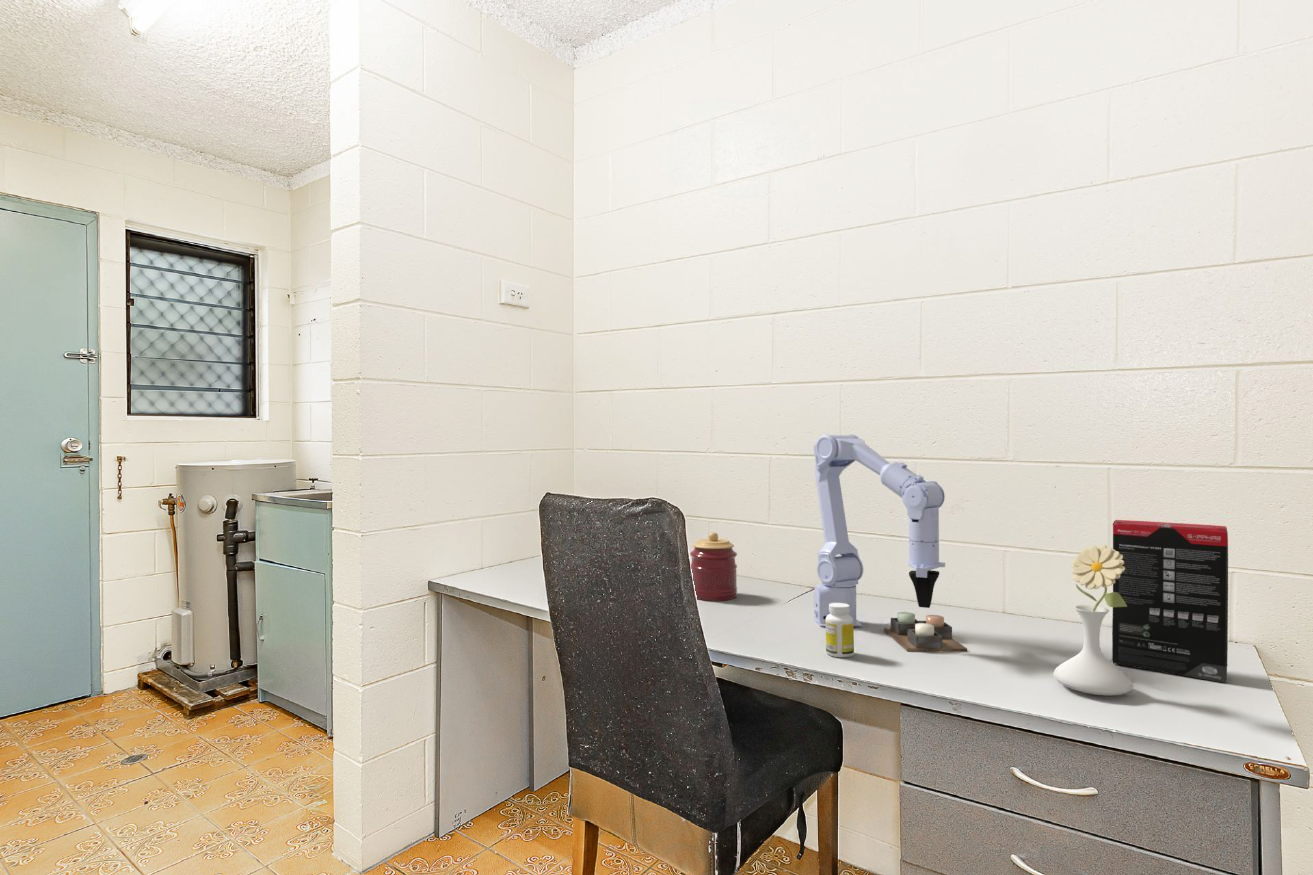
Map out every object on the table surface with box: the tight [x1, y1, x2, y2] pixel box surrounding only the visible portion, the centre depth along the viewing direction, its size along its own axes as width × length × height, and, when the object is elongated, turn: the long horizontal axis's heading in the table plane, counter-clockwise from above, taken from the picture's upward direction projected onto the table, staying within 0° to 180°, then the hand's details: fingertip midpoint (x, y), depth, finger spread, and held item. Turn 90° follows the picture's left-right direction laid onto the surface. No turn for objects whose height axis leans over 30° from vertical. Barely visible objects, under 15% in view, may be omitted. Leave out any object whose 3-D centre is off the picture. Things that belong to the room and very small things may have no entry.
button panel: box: [883, 617, 968, 653], centre depth 145 cm, size 12×15×3 cm
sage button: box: [897, 611, 916, 624], centre depth 149 cm, size 4×4×3 cm
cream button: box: [915, 623, 934, 636], centre depth 140 cm, size 4×4×3 cm
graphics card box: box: [1111, 519, 1229, 683], centre depth 125 cm, size 17×7×27 cm, turn 53°
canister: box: [689, 531, 738, 602], centre depth 188 cm, size 13×13×18 cm
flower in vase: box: [1053, 544, 1134, 697], centre depth 115 cm, size 13×11×25 cm
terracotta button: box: [925, 614, 945, 627], centre depth 147 cm, size 4×4×3 cm
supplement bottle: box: [825, 603, 855, 659], centre depth 136 cm, size 5×5×10 cm
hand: (924, 606), depth 140 cm, fingers closed
